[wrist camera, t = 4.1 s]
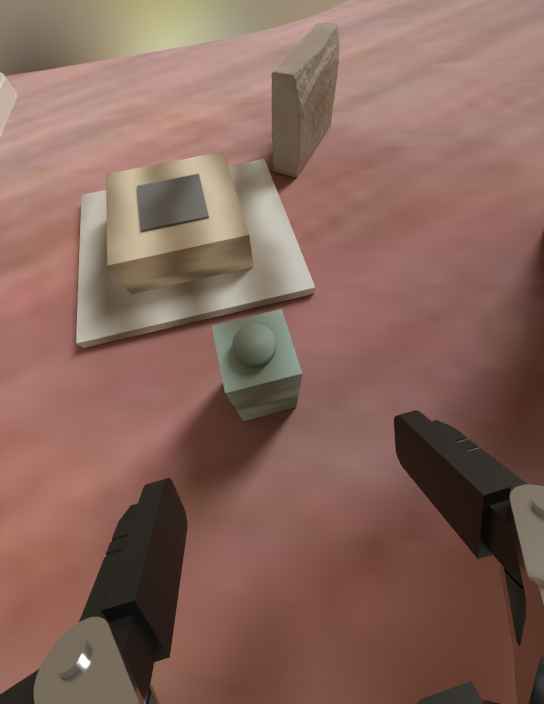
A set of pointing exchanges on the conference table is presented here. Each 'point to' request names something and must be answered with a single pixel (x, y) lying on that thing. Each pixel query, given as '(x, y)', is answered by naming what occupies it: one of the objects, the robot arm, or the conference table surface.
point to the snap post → (258, 364)
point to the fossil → (304, 98)
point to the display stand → (183, 248)
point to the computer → (6, 101)
